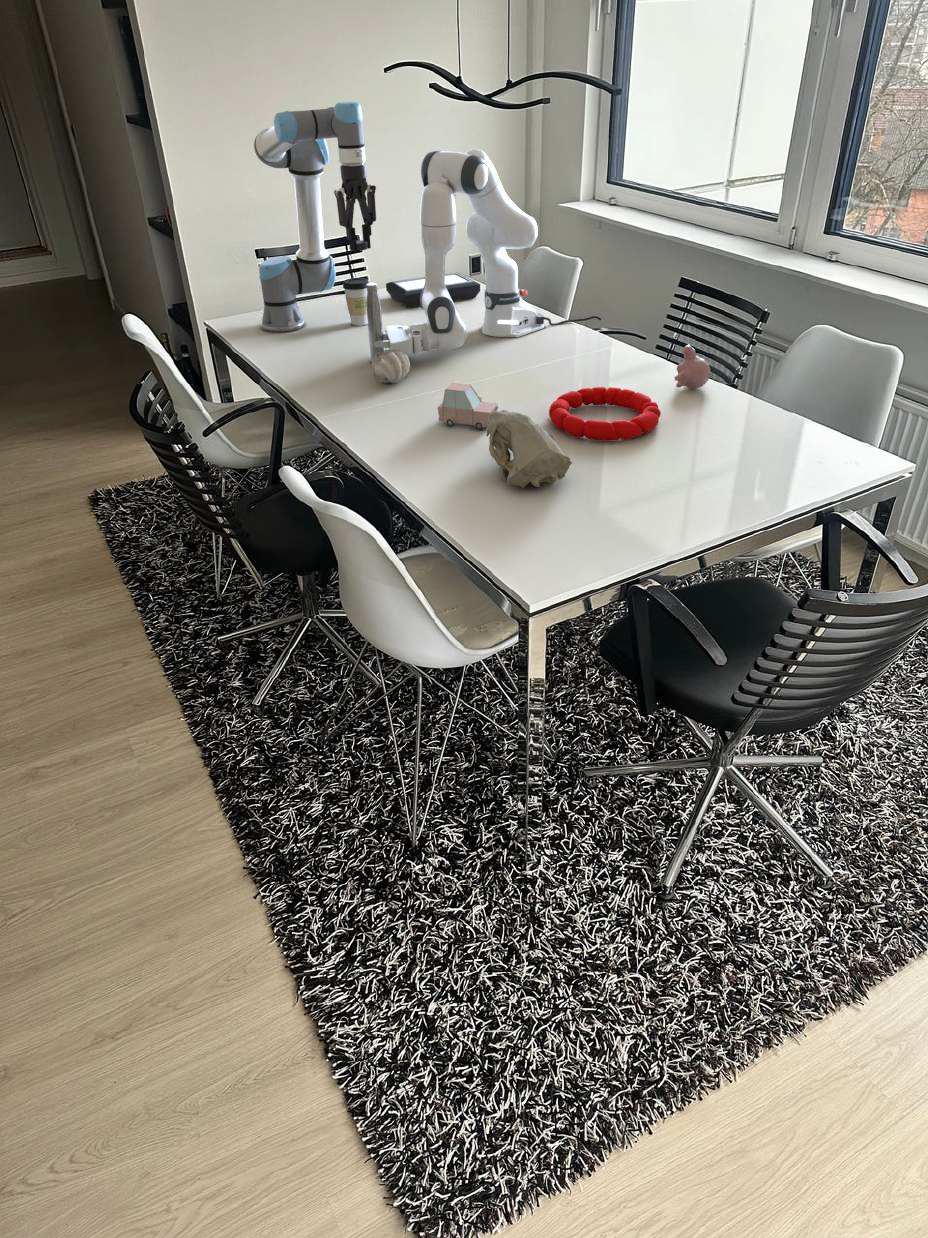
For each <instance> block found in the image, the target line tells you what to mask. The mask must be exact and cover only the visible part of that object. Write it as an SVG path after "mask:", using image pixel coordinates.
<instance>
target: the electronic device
mask: <svg viewBox="0 0 928 1238" xmlns="http://www.w3.org/2000/svg"><path fill="white" fill-rule="evenodd" d="M425 279H426V276H422V277H416V278H409V279H402V280H395V281H389V282H386V283H385V290H386V292H387V293H388V295H389V296H390V298H391V299H393V300H395V301H396V302H397V303H400V305H402V306H404V307H405V308H406V309H409V308H415V307H421V304H420V296H421V292H422V290H423V287H424V285H425ZM445 285H446V287H447V289H448V292H449V294H450V297H451V299H452V301H453V302H457V301H463V300H469V299H470V300H471V299H476V297H477V296H478V295H479V293H480V292H481V284H480V283H479V282H477V281H475V280H473V279H471V278H470V277H467V276H466V275H464V274H462V273H460V272H452V273H445Z"/></svg>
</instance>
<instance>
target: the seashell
mask: <svg viewBox="0 0 928 1238" xmlns="http://www.w3.org/2000/svg"><path fill="white" fill-rule="evenodd" d="M410 368H411V362H410V358H409V357H408V355H407V354H405V353H404V354H403V353H402V352H401V351H396V350H390V349H384V352H383V353H376V354H375V357H374V358H373V361H372V362H371V371H372V374H373V377H375V378H376V379H377V380H378V381H379V382H380V383H384V384H388V383H389V382H390V383H393V384H396V383H400V382H402V381H403V380H404V378H406V376H407V375H408V373H409V372H410Z"/></svg>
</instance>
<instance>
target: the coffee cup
mask: <svg viewBox="0 0 928 1238" xmlns="http://www.w3.org/2000/svg"><path fill="white" fill-rule="evenodd" d="M368 283H370V282H369V279H367V278H365V277H351V278H347V279H345V280H344V281H343V285H342V288H343V290H344V297H345V301H346V305H347V310H348V314H349V318H350V323H351V325H353V326H357V327H359V326H365V325H368V320H367V309H366V298H367V297H366V296H367V286H366V285H367V284H368Z"/></svg>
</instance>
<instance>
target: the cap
mask: <svg viewBox="0 0 928 1238" xmlns="http://www.w3.org/2000/svg"><path fill="white" fill-rule="evenodd" d="M356 245H357V251H366V250H369V249H368V243H367V241H364V240H363V239H362V240H356Z"/></svg>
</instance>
